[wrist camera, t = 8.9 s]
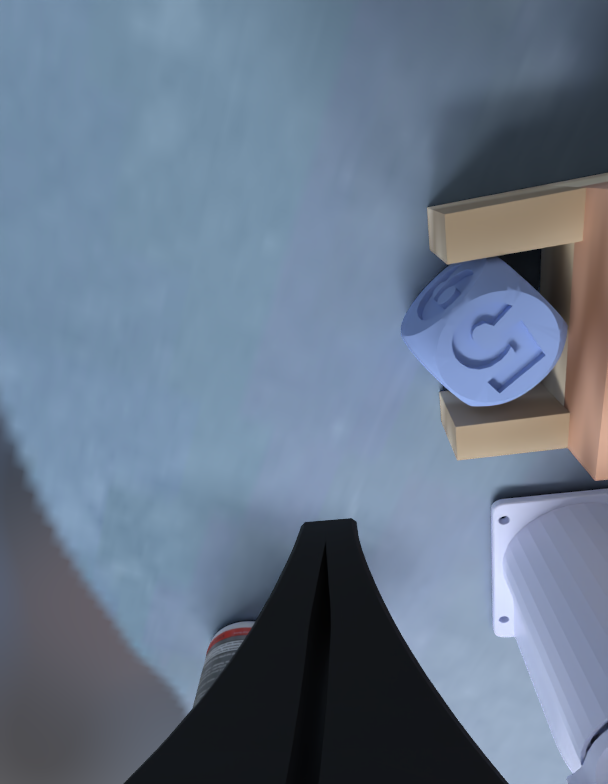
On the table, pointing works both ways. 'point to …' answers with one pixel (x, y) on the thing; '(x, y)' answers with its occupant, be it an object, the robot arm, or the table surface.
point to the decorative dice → (484, 332)
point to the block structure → (566, 295)
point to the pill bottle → (221, 654)
